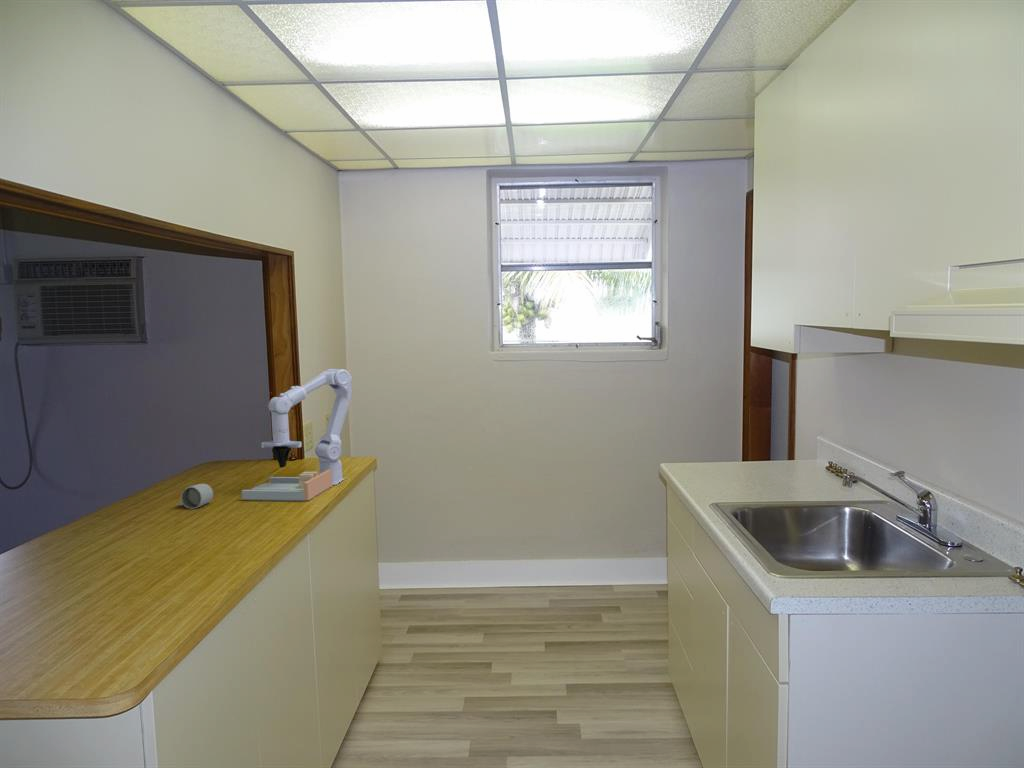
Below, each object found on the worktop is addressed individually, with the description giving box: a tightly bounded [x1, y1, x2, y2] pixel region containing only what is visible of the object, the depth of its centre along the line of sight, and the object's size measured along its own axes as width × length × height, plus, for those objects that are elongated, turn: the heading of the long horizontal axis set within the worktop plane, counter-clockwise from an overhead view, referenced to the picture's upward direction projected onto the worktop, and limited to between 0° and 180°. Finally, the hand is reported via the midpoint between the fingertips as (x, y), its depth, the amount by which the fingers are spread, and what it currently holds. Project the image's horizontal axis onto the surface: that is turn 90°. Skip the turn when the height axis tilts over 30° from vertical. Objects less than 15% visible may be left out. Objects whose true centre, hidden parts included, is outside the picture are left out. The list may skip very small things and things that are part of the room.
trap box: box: [241, 470, 334, 502], centre depth 247 cm, size 21×24×6 cm
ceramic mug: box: [177, 483, 214, 510], centre depth 233 cm, size 11×8×8 cm
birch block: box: [298, 471, 319, 489], centre depth 245 cm, size 5×5×5 cm
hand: (282, 466), depth 248 cm, fingers closed
